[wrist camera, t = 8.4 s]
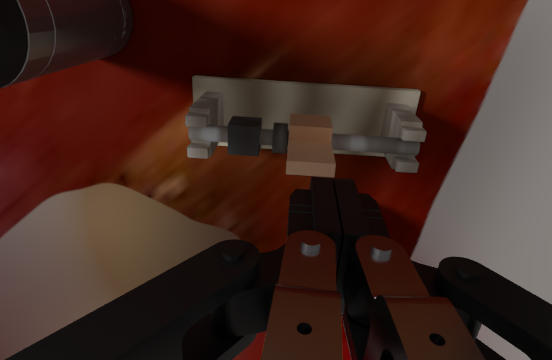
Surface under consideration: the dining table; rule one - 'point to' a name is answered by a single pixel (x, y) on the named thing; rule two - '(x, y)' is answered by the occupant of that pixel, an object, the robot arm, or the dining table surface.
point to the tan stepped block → (310, 146)
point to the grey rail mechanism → (304, 100)
